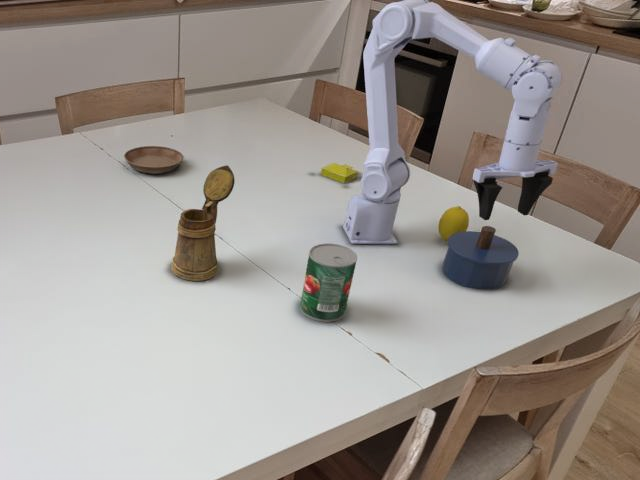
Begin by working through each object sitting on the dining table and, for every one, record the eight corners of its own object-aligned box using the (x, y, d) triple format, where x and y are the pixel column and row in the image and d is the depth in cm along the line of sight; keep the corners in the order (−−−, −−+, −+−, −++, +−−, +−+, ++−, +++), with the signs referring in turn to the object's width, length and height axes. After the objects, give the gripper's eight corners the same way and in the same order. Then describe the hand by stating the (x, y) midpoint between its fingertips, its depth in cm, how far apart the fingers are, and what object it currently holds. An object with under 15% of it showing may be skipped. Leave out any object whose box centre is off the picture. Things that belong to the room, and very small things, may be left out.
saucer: (147, 151, 178) (147, 141, 176) (194, 164, 171) (194, 153, 169) (112, 168, 168) (111, 157, 166) (160, 182, 161) (160, 171, 160)
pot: (455, 290, 124) (464, 263, 121) (433, 259, 133) (440, 234, 130) (515, 289, 125) (526, 263, 121) (489, 259, 134) (498, 234, 130)
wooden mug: (240, 259, 132) (249, 171, 121) (199, 286, 124) (204, 194, 113) (203, 245, 137) (208, 158, 126) (161, 270, 128) (163, 180, 117)
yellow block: (312, 174, 167) (313, 163, 165) (334, 165, 172) (336, 154, 170) (345, 186, 161) (347, 175, 159) (367, 177, 166) (369, 165, 164)
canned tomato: (291, 302, 120) (299, 247, 113) (328, 294, 122) (338, 239, 116) (316, 326, 114) (327, 269, 107) (354, 316, 117) (367, 260, 110)
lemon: (464, 250, 137) (475, 213, 132) (435, 247, 137) (446, 210, 133) (460, 237, 141) (471, 202, 136) (432, 234, 142) (442, 199, 137)
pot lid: (461, 268, 121) (469, 244, 118) (436, 236, 131) (443, 213, 128) (529, 268, 121) (538, 244, 118) (499, 236, 131) (507, 213, 128)
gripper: (497, 151, 110) (478, 228, 118) (577, 142, 112) (554, 219, 120) (473, 139, 116) (457, 213, 124) (550, 131, 118) (529, 205, 125)
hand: (503, 215), depth 122 cm, fingers open, 7 cm apart
